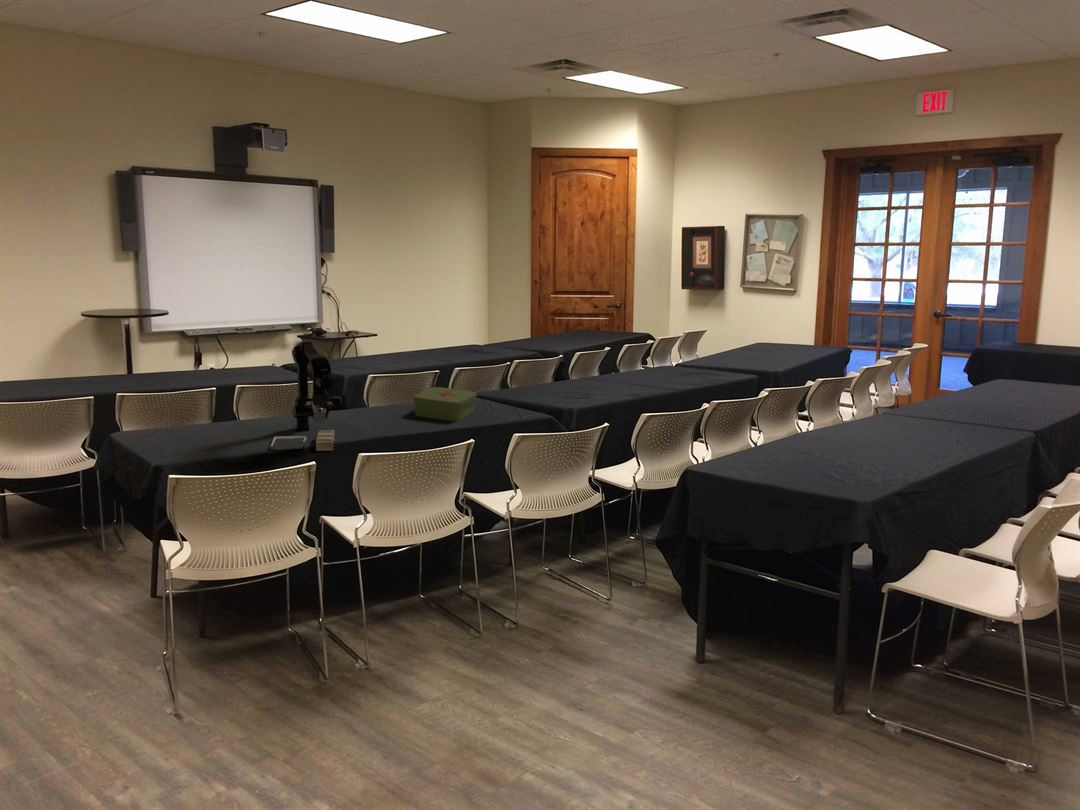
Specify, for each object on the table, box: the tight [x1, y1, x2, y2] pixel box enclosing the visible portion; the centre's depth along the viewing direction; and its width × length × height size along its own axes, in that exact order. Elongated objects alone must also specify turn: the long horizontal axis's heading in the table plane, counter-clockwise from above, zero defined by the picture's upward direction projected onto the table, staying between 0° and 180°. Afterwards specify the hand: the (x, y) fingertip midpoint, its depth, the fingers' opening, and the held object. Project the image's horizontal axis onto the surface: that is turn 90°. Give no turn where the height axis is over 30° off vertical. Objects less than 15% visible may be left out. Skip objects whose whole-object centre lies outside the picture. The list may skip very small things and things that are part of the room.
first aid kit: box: [413, 386, 477, 422], centre depth 454 cm, size 26×26×10 cm
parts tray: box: [269, 435, 307, 447], centre depth 392 cm, size 16×14×2 cm
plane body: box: [315, 429, 336, 452], centre depth 394 cm, size 18×7×4 cm, turn 10°
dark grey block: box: [313, 407, 327, 424], centre depth 391 cm, size 7×5×5 cm
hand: (320, 419), depth 391 cm, fingers closed on dark grey block, 5 cm apart
